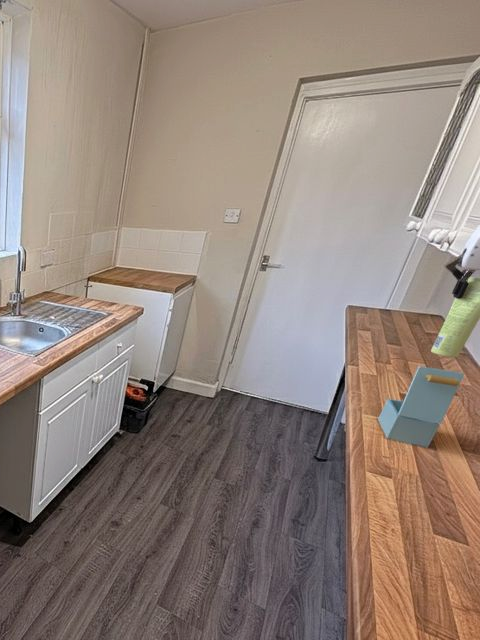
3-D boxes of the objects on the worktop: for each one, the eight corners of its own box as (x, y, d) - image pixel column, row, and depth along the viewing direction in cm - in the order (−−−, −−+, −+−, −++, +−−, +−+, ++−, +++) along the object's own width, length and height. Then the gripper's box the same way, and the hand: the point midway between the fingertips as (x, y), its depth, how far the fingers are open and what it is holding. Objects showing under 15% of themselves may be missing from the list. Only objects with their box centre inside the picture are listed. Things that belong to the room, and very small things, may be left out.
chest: (377, 420, 126) (387, 398, 123) (414, 428, 122) (425, 405, 119) (386, 439, 116) (397, 416, 113) (427, 449, 112) (439, 425, 109)
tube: (460, 354, 106) (499, 278, 99) (462, 359, 103) (502, 281, 95) (429, 349, 110) (464, 275, 102) (430, 354, 107) (466, 278, 99)
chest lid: (418, 365, 109) (424, 370, 105) (463, 373, 104) (471, 377, 100) (397, 414, 113) (403, 420, 109) (440, 423, 109) (447, 429, 105)
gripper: (561, 220, 92) (518, 300, 99) (453, 218, 101) (420, 292, 108) (581, 222, 86) (533, 307, 93) (464, 219, 95) (428, 297, 102)
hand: (473, 298), depth 101 cm, fingers closed on tube, 4 cm apart
